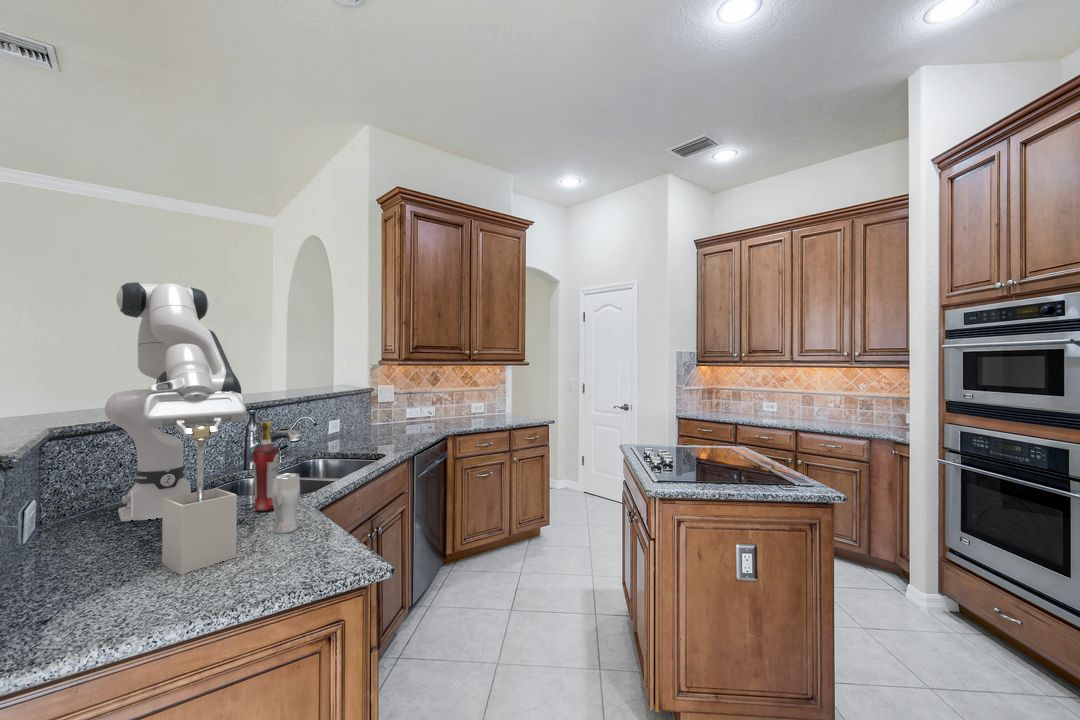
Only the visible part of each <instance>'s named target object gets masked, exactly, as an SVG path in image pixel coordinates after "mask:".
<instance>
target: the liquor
mask: <svg viewBox="0 0 1080 720" xmlns="http://www.w3.org/2000/svg"><path fill="white" fill-rule="evenodd" d="M271 430H272V421H262V422H261V431H262V432H261V441H260V447H258V448H255V449H254V450H253V451H252V459H253V460H252V463H253V464H252V466H253V467H252V468H253V480H254V483H253V484H254V505H253V509H254V510H256V511H257V512H258V511H267V512H270V511H269V510H271V511H273V510H274V507H273V502H272V482H273V477H274V476H276V475H279V467H280V464H279V462H280V449H279V448H278V447H276V446H274V445H273V444H272V435H271ZM272 509H273V510H272Z"/></svg>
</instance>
